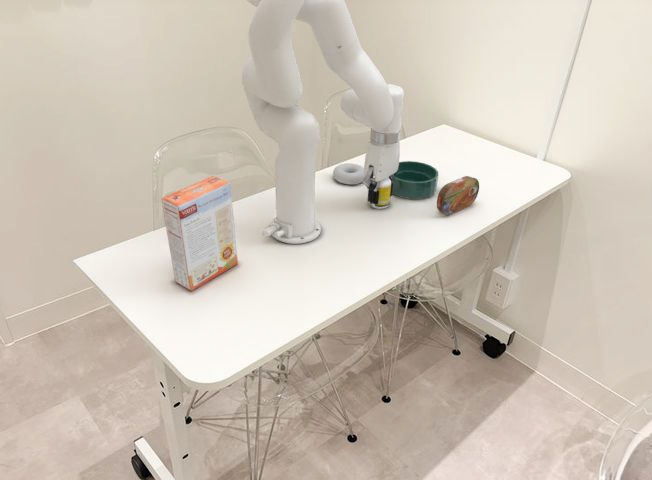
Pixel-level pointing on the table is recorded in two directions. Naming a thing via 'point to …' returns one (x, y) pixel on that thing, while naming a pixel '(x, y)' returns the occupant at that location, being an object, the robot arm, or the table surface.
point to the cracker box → (200, 231)
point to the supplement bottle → (383, 193)
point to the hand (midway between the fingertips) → (379, 198)
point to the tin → (457, 195)
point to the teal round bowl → (415, 180)
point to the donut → (349, 173)
